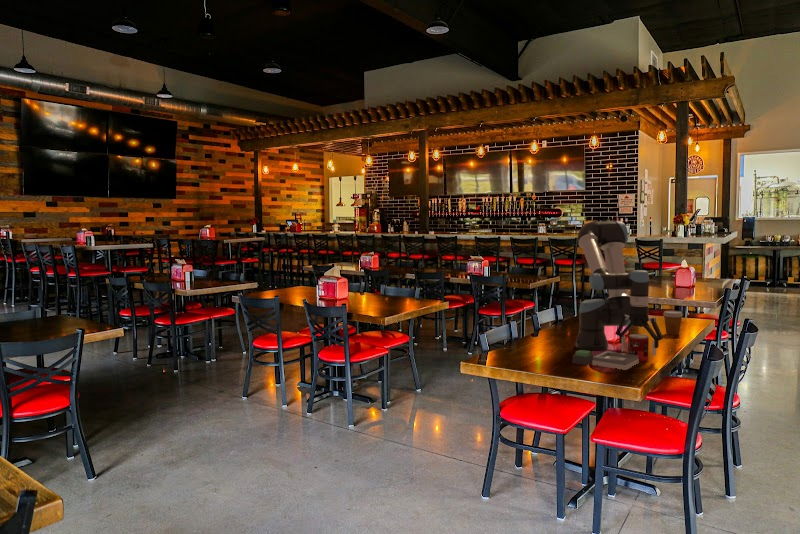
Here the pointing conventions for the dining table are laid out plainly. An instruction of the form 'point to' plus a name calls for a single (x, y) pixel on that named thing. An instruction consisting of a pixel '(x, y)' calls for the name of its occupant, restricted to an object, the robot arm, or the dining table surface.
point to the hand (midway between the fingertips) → (638, 353)
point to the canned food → (639, 346)
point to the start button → (583, 353)
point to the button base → (582, 359)
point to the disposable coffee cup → (672, 322)
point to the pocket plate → (615, 360)
